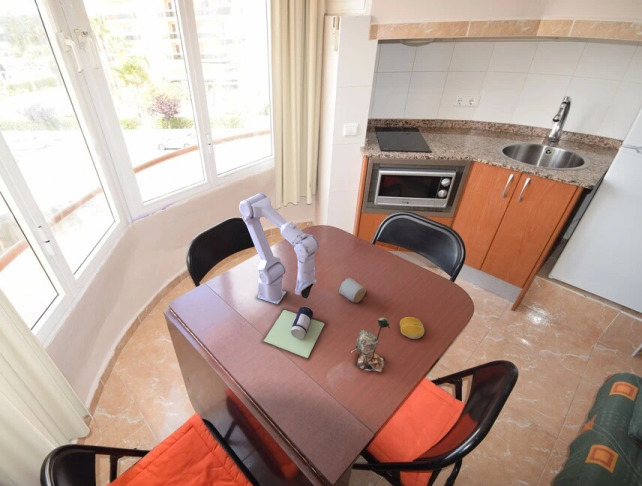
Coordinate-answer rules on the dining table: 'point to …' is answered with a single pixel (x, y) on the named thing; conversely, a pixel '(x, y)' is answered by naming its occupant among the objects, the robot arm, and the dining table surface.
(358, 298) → the white cylinder
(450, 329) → the dining table surface
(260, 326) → the dining table surface
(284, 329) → the mat
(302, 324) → the beverage can
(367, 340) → the grey figurine
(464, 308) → the dining table surface
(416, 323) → the bread roll
